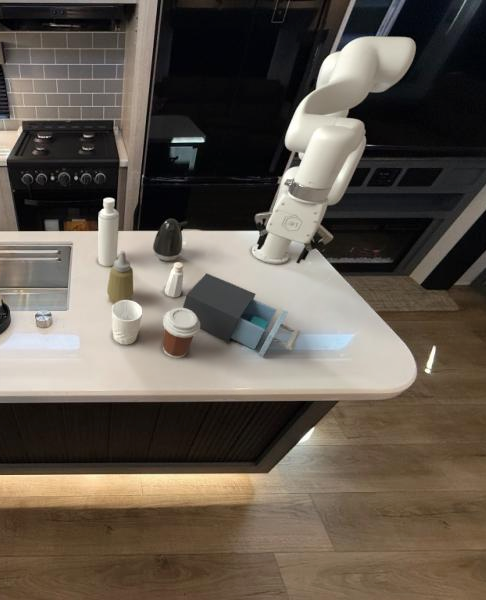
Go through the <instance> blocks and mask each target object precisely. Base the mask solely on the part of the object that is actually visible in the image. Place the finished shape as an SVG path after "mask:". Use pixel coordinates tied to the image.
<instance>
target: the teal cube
mask: <svg viewBox="0 0 486 600" xmlns="http://www.w3.org/2000/svg"><path fill="white" fill-rule="evenodd" d="M250 322H251V323H253V324H255V325H257V326H259V327H261V328H263V329H266V327H267V325H268V323H269V322H267V321H265V320H263V319H260V318H258V317H256V316H253V318H252V319H251V321H250ZM269 324H270V323H269ZM268 326H269V325H268ZM267 328H268V327H267ZM266 330H267V329H266ZM263 333H264V334H265V332H263Z"/></svg>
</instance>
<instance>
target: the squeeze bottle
mask: <svg viewBox="0 0 486 600" xmlns="http://www.w3.org/2000/svg"><path fill="white" fill-rule="evenodd" d="M106 293H107V295H108V298H109V300H110V302H111V303H112V304H113V305H114V304H115V303H117V302H119V301H122V300H131V299H132V297H133V295H134V270H133V268H132V266H131V262H130V260H129V259H127V255H126V251H124V250H121V251H120V252H119V256H118V258H117V260H115V261H114V265H113V266H111V267H110V270H109V277H108V283H107V291H106Z"/></svg>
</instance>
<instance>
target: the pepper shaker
mask: <svg viewBox="0 0 486 600" xmlns="http://www.w3.org/2000/svg"><path fill="white" fill-rule="evenodd" d="M183 269H184V264H183V263H182V262H174V263H173V268H172V269H171V271H170V273H169V277H168V278H167V279H168V280H167V283H166V286H165V289H164V293H165V295H167V296H168V297H171V298H177V297H180V296H181V295H182V291H183V281H184V271H183Z"/></svg>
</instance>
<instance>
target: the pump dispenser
mask: <svg viewBox="0 0 486 600" xmlns="http://www.w3.org/2000/svg"><path fill="white" fill-rule="evenodd" d="M186 225H188V221H182V222H179V221H178V220H177V219H176V218H168V219H166V220H164V222H163V223H162V224H161V225H160V227H159V228H158V230H157V232H156V234H155V237H154V241H153V245H152V250H153V252H154V255H155V256H156V257H157V259H159V260H161V261H164V262H170V261H171V262H172V261H174V260H175V259H177V258H178V256H179V255H180V254H181V252H182V249H183V233H182V227H184V226H186Z"/></svg>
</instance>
